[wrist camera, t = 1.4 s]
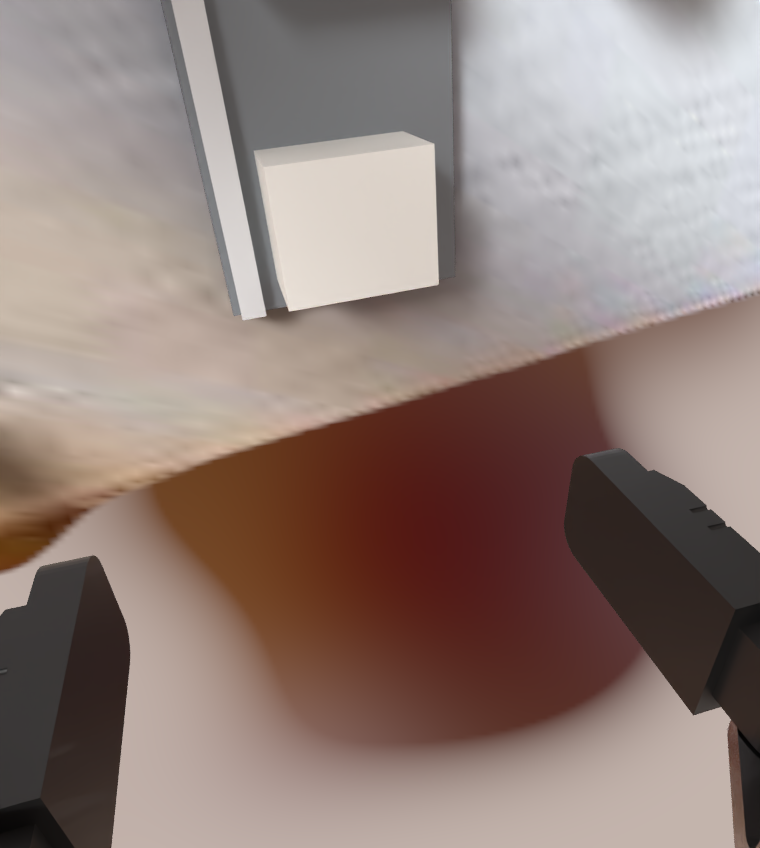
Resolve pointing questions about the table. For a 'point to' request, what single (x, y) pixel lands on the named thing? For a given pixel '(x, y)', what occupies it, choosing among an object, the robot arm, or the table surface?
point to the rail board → (332, 89)
